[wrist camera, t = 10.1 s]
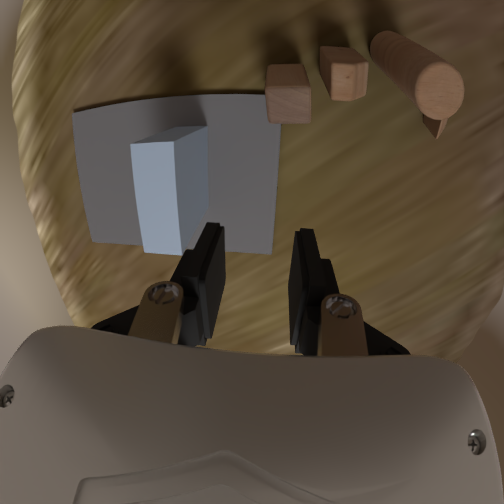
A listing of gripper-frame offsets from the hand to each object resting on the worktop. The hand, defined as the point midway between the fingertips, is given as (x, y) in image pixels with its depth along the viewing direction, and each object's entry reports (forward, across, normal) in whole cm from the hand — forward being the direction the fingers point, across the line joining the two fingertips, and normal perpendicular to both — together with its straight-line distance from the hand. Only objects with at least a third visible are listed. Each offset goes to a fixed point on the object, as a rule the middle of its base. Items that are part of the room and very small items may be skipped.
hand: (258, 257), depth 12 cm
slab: (+15, +7, 0) cm, 16 cm away
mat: (+15, +10, +1) cm, 18 cm away
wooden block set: (+16, -8, -10) cm, 20 cm away
